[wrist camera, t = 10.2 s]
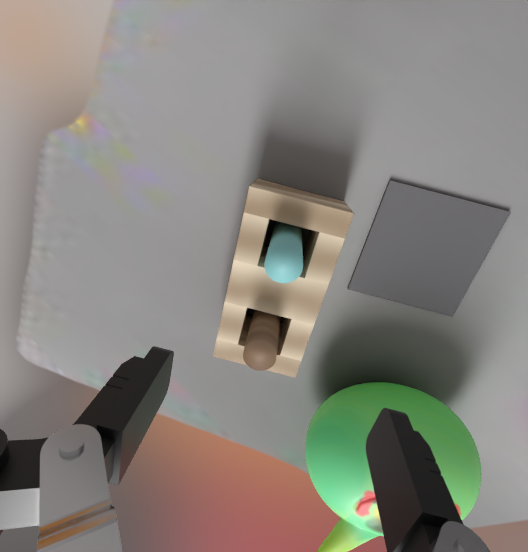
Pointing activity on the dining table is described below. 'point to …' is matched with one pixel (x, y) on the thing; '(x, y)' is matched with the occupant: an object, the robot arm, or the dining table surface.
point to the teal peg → (284, 253)
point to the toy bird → (354, 465)
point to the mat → (425, 248)
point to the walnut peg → (262, 341)
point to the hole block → (268, 293)
